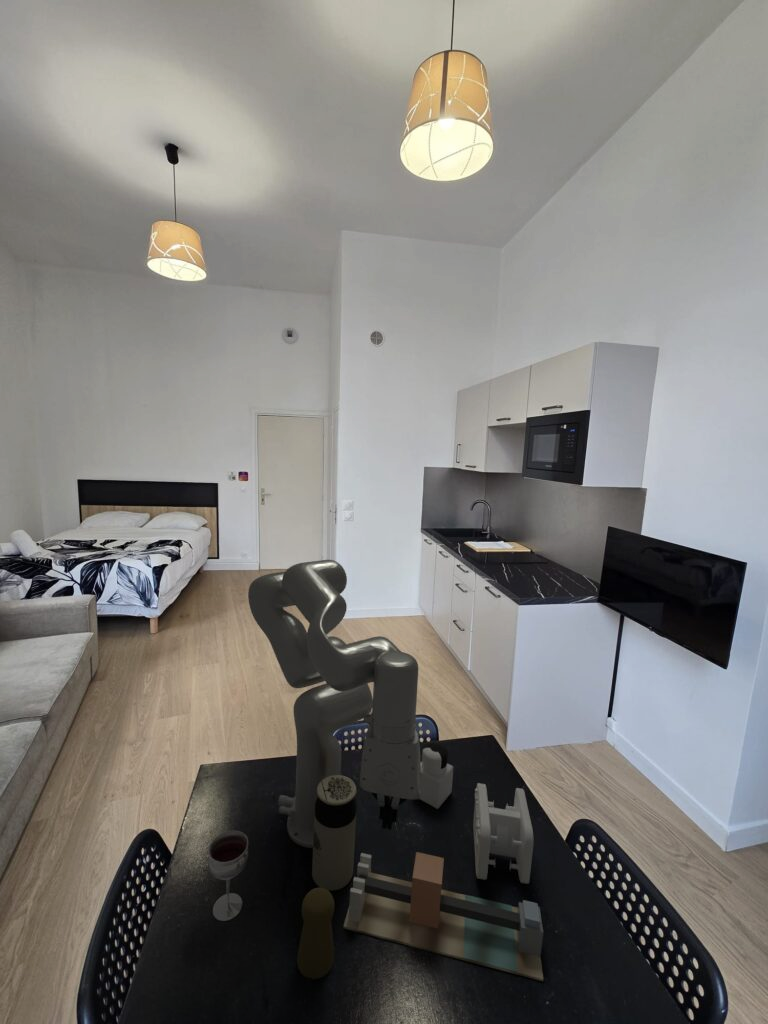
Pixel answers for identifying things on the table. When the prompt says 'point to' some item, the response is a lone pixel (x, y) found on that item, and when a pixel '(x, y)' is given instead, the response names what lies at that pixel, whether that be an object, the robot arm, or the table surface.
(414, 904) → the brown rectangular block
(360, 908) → the cable comb
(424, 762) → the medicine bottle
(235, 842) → the wineglass
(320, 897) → the yellow peg figure
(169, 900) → the table surface
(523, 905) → the connector
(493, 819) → the cable organizer
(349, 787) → the travel mug
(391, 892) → the dark grey bar
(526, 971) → the board
